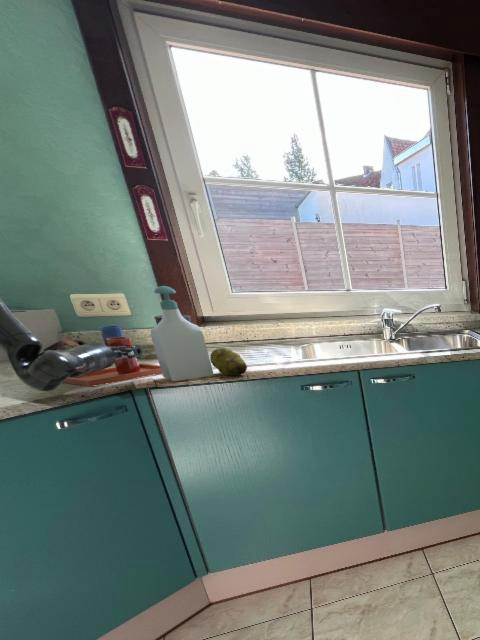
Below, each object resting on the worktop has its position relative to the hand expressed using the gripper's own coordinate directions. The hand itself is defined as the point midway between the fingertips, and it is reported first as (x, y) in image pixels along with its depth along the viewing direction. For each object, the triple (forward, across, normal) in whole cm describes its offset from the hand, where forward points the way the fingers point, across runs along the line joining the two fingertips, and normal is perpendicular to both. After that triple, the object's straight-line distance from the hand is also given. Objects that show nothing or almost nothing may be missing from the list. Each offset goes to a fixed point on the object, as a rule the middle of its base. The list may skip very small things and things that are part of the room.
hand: (122, 348), depth 153 cm
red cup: (-1, 0, +8) cm, 8 cm away
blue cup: (+30, +17, +8) cm, 35 cm away
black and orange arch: (+29, +30, +8) cm, 43 cm away
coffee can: (+35, 0, +8) cm, 36 cm away
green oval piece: (-4, -28, +8) cm, 30 cm away
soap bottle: (-5, -17, +8) cm, 20 cm away
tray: (-3, +2, +8) cm, 9 cm away
